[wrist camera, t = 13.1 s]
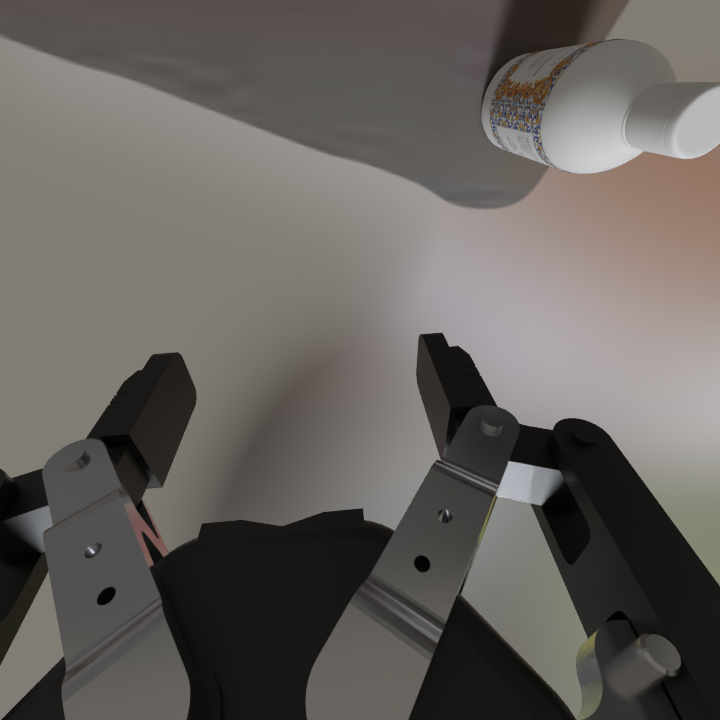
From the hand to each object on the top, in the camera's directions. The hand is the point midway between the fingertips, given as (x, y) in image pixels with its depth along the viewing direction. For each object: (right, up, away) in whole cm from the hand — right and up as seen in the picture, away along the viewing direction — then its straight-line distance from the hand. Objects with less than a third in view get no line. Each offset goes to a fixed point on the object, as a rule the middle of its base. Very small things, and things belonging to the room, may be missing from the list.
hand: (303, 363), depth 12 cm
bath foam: (+16, +23, +20) cm, 34 cm away
